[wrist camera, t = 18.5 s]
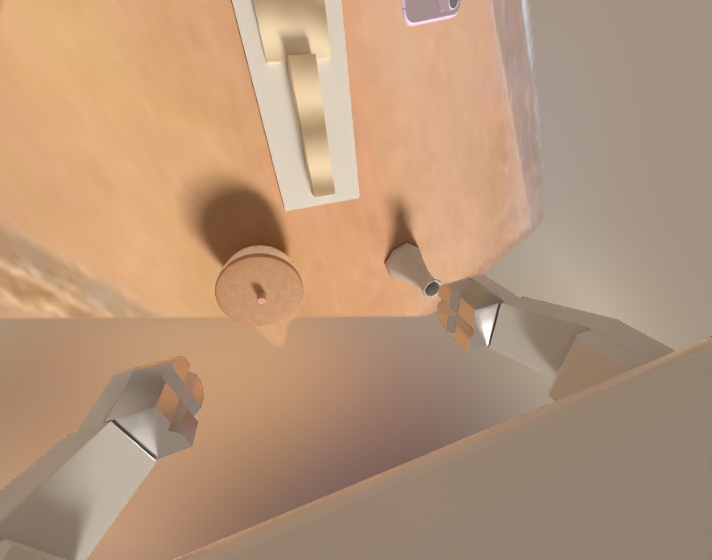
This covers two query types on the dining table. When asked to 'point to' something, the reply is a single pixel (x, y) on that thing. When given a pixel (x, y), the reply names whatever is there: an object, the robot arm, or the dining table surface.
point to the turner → (301, 74)
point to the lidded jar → (259, 286)
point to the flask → (412, 269)
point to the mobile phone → (428, 10)
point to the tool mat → (282, 115)
